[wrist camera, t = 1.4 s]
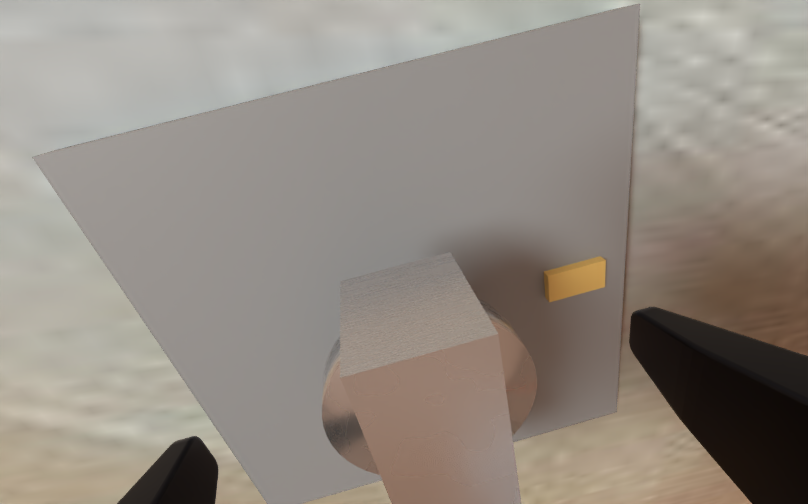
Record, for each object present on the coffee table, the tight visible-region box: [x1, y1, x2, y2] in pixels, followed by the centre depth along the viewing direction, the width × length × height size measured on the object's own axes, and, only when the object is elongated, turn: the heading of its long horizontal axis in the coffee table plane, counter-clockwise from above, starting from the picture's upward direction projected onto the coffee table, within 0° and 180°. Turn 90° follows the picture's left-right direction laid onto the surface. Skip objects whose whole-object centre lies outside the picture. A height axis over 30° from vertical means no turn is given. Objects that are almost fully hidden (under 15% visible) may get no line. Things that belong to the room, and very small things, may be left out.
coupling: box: [322, 252, 537, 504], centre depth 11 cm, size 10×7×5 cm
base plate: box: [32, 4, 640, 504], centre depth 17 cm, size 20×20×1 cm
